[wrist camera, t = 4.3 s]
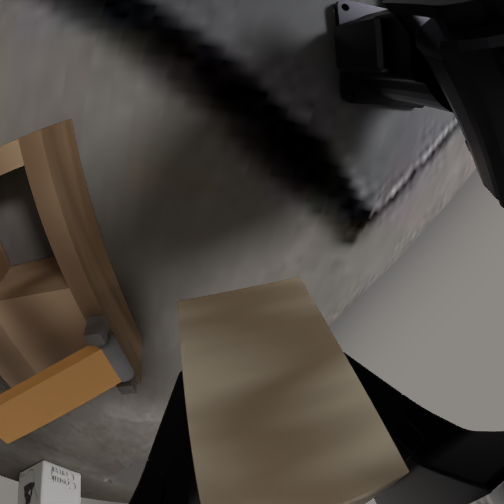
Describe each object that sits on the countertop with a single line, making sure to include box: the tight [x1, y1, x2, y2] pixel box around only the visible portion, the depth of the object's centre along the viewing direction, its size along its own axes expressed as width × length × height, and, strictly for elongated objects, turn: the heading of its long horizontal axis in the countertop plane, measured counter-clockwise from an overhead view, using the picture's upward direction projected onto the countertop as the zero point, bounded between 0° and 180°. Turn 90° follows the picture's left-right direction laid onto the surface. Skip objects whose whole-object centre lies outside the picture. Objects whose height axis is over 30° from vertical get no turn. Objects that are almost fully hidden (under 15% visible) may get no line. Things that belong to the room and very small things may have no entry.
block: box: [0, 119, 143, 394], centre depth 14 cm, size 12×16×5 cm
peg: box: [178, 277, 409, 504], centre depth 8 cm, size 4×4×7 cm
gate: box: [0, 333, 134, 444], centre depth 12 cm, size 11×3×1 cm, turn 96°
